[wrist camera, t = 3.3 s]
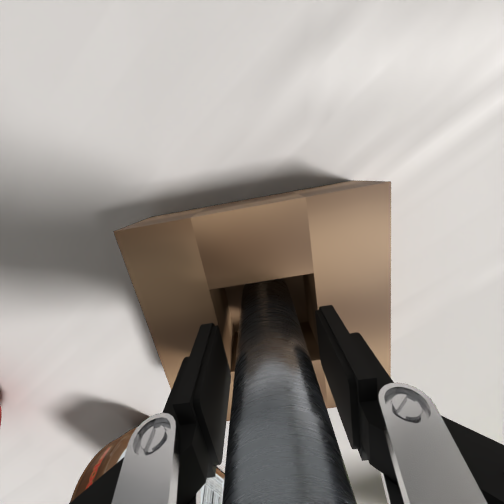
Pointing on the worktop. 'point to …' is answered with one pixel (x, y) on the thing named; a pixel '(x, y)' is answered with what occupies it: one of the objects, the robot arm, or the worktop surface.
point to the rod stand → (266, 267)
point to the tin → (116, 452)
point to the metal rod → (279, 411)
